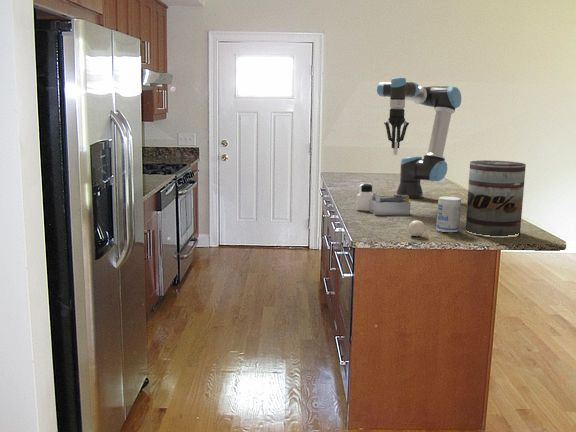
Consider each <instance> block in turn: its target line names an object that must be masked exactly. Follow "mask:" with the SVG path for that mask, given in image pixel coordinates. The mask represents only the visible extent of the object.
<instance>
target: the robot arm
mask: <svg viewBox="0 0 576 432" xmlns="http://www.w3.org/2000/svg"><path fill="white" fill-rule="evenodd" d="M376 92H377V95H378V96H379V97H384V98H385V97H389V98H390V100H389V108H390V109H389V118H388V120H387V121H384V122H383V124H384V127H385V130H386V135H387V139H388V141H390V142H391V149H392V155H394V156H397V155H398V149H400V145H401V144H400V143H401V142H402V141H404V139H405V136H406V132H407V129H408V126H409V125H410V123H409V122H408V121H406V118H405V107H406V106H405V105H406V100H407V101H412V102H414V103H415V104H418V105H423V106H426V107H430V108H431V107H432V108H433V109H434V110H435V115H434V121H433V125H432V130H431V135H430V141H429V143H428V148H427V153H425V154H424V155H423V158H422V155H421V156H420V155H419V156H418V155H417V156H408V157H406V156H405V157H402V158H401V159H400V175H399V179H400V180H399V185H398V187H397V190H396V194H395V195H399V194H400V195H407V196H409V199H420V198H423V197H424V192H423V188H422V185H421V181H431V182H441V181H442V180H443V179H444V178H445V176H446V175H447V172H448V163H447V162H446V158H445V157H444V152H445V147H446V144H447V137H448V133H449V127H450V123H451V118H452V115H453V114H454V113H455V112H456V109H457V108H459V107H460V106H461V103H462V95H461V94H462V93H461V91H460V89H459V88H458V87H457V86H450V85H449V86H438V85H437V86H433V85H432V86H420V85H419V84H418V83H416V82H413V81H407V78H405V77H392V78H391V81H389V82H388V81H382V82H379V83H378V84H377V88H376ZM390 125H391V127H390ZM402 125H403V127H402Z"/></svg>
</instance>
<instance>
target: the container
mask: <svg viewBox="0 0 576 432" xmlns="http://www.w3.org/2000/svg"><path fill="white" fill-rule="evenodd" d="M358 192H359V193H358V194H356V200H355V201H356V204H355V207H356V208H355V210H356V211H367V212H369V203H370V200H372V196H373V184H370V183H361V184H359V189H358Z"/></svg>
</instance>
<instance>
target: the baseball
mask: <svg viewBox="0 0 576 432" xmlns="http://www.w3.org/2000/svg"><path fill="white" fill-rule="evenodd" d="M425 232H426V226H425V224H424V222H423V221H421V220H417V219H415V220H412V221H411V222H410V223H409V225H408V233H409V234H410V235H411V236H413V237H415V236H416V237H418V236H419V237H421V236H423V235H424V233H425Z"/></svg>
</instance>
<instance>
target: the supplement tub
mask: <svg viewBox="0 0 576 432" xmlns="http://www.w3.org/2000/svg"><path fill="white" fill-rule="evenodd" d="M461 206H462V199H461V198H460V197H457V196H446V195H445V196H440V197H438V201H437V215H436V224H435V225H436V228H435V229H436V230H435V231H437V230H438V231H437V232H439V231H442V232H457V231H458V232H459V231H460V230H459V229H460V220H461V208H462V207H461ZM442 232H441V233H442ZM458 232H457V233H458Z"/></svg>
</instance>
